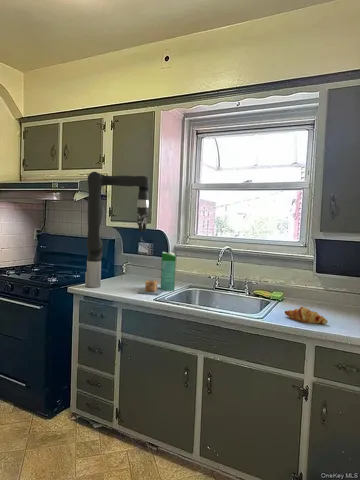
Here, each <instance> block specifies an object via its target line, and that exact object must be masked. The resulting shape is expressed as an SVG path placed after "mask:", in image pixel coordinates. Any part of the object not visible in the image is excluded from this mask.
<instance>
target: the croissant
mask: <svg viewBox="0 0 360 480" xmlns="http://www.w3.org/2000/svg"><path fill="white" fill-rule="evenodd" d="M284 314H285V316H287V317H289V318H290V319H292V320H295V321H297V322H300V321H302V323H305V322H308V323H307V324H314V323H316V324H317V323H318V324H321V325H325V324H328V319H326V318H325V317H324V316H323V315H320V314H319V313H318V312H317V311H313V310H312V311H311V310H310V308H307V307H304V306H300V307H299V309H298V308H295V309H293V310H291V309H290V310H285V311H284Z"/></svg>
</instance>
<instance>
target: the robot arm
mask: <svg viewBox="0 0 360 480" xmlns="http://www.w3.org/2000/svg"><path fill="white" fill-rule="evenodd" d="M87 186H88V198H87V199H88V200H87V239H86V247H87V249H88V251H87V252H88V253H87V257H86V271H85V274H84V278H85V279H84V281H85V282H84V286H85V287H87V288H94V289H95V288H100V287H101V282H102V281H101V280H102V258H103V240H102V239H101V237H100V230H101V229H100V228H101V225H102V224H101V223H102V219H103V218H102V217H103V205H102V199H101V187H104V186H105V187H106V186H116V187H131V188H132V187H138V193H137V194H138V196H137V212H136V213H137V214H138V215H137V222H136V224H137V226H138V232H140V233H142V232H146V231H147V225H148V215H149V213H150V211H149V209H150V200H149V199H150V198H149V197H150V194H149V193H150V191H149V190H150V179H149V177H147V176H146V175H107V174H106V175H105V174H101V173H99V171H98V172H97V171H92V172H90V173H89V174H88V176H87Z"/></svg>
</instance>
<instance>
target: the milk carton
mask: <svg viewBox="0 0 360 480" xmlns="http://www.w3.org/2000/svg"><path fill="white" fill-rule="evenodd" d="M176 256H177V255H176V254H175V253H174V252H170V251H169V252H166V251H162V252H161V272H160V274H161V275H160V289H162V290H163V291H169V292H170V291H173V292H174V291H175V281H176V280H175V279H176V262H177V261H176V259H177V257H176Z"/></svg>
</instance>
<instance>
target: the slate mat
mask: <svg viewBox="0 0 360 480" xmlns="http://www.w3.org/2000/svg"><path fill="white" fill-rule="evenodd" d="M163 292H164V290H162V289H161V288H157V290H156V291H155V292H148V291H145V287H144V288H142V289H140V290H139V291H138V292H137V294H139V295H149V296H150V295H151V296H152V295H153V296H159V295H161V294H162V293H163Z"/></svg>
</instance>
